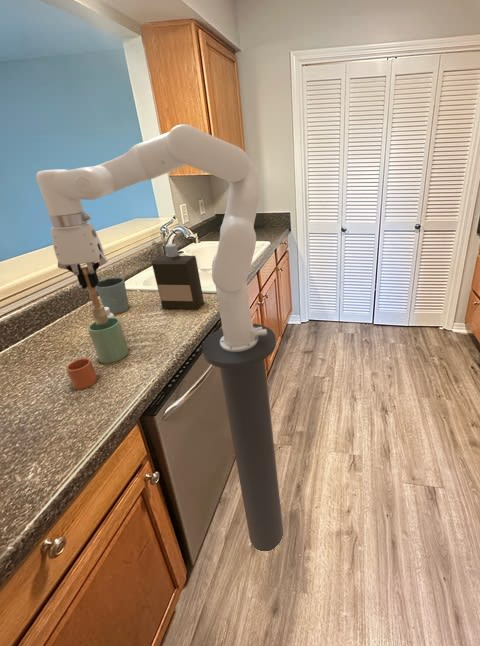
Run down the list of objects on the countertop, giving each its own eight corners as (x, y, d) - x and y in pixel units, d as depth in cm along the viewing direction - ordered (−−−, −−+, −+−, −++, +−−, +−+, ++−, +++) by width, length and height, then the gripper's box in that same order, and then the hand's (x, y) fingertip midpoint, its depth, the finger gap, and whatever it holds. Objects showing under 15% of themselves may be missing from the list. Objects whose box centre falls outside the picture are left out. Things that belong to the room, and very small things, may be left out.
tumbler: (131, 345, 104) (122, 315, 100) (125, 360, 97) (115, 328, 92) (104, 350, 102) (93, 319, 98) (95, 365, 95) (83, 333, 91)
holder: (100, 374, 91) (93, 356, 89) (93, 387, 86) (86, 368, 84) (78, 377, 90) (71, 360, 88) (69, 391, 85) (62, 372, 83)
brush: (109, 318, 96) (93, 265, 90) (106, 323, 94) (88, 268, 87) (98, 320, 96) (80, 266, 89) (94, 325, 93) (75, 270, 86)
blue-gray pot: (118, 302, 135) (110, 276, 131) (137, 305, 132) (130, 278, 127) (97, 313, 127) (88, 285, 122) (117, 316, 123) (108, 288, 119)
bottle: (170, 300, 135) (156, 242, 125) (206, 301, 132) (195, 242, 122) (159, 309, 127) (144, 248, 118) (197, 310, 125) (185, 248, 115)
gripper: (107, 215, 88) (124, 278, 95) (42, 220, 85) (65, 285, 92) (97, 220, 81) (117, 287, 88) (26, 226, 78) (53, 295, 85)
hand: (90, 286), depth 90 cm, fingers closed on brush
